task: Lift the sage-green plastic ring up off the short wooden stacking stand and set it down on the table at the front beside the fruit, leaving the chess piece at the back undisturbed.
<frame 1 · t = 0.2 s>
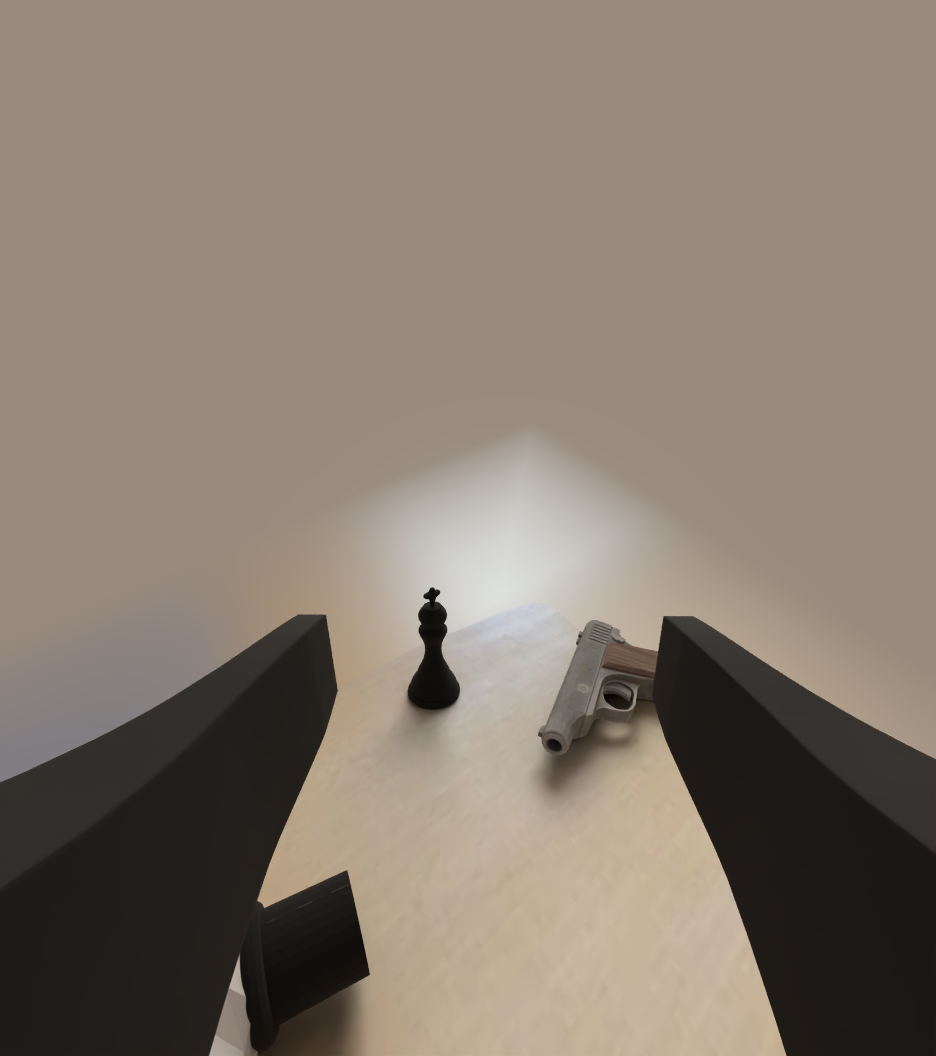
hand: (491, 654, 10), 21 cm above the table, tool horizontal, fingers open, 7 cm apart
handgun: (719, 732, 36), point 1 cm above the table
chess piece: (434, 693, 41), on the table
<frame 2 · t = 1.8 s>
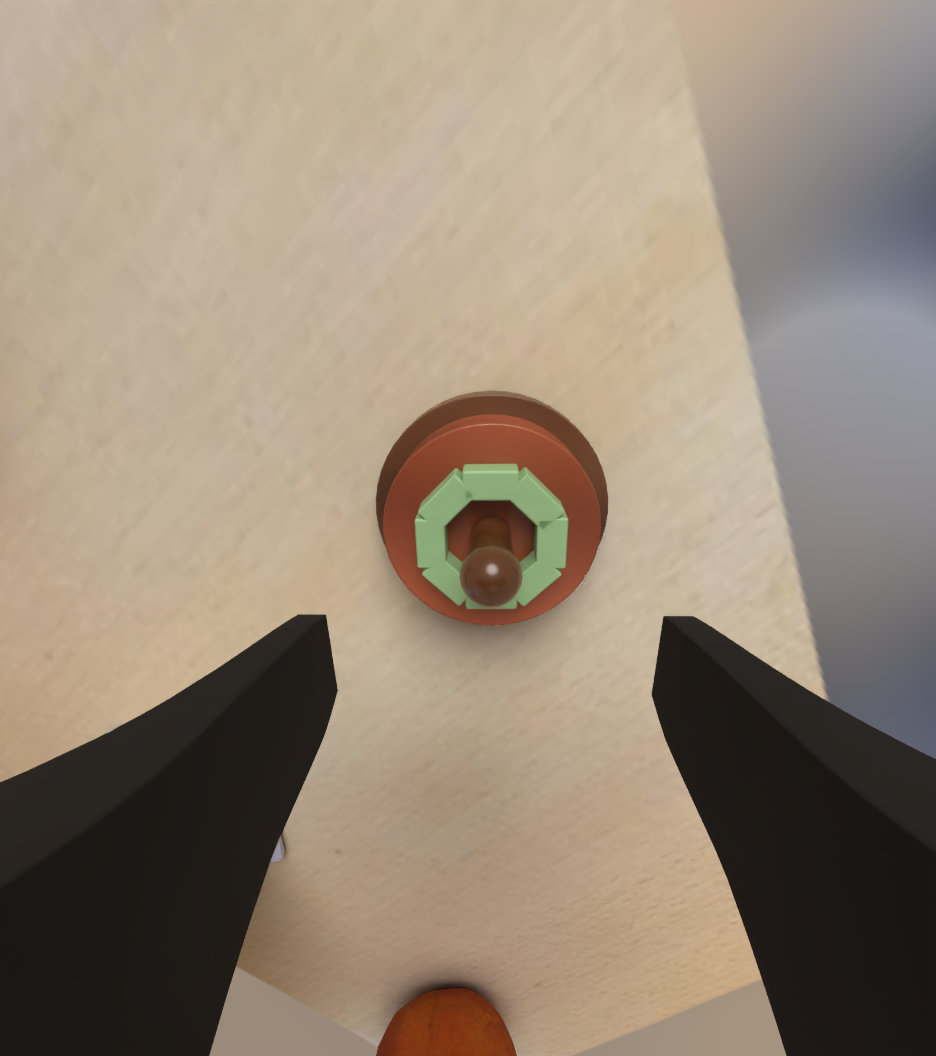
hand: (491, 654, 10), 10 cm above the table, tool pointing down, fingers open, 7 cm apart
stand: (490, 504, 19), on the table
ring: (490, 533, 17), point 3 cm above the table, touching stand
fruit: (449, 994, 33), on the table
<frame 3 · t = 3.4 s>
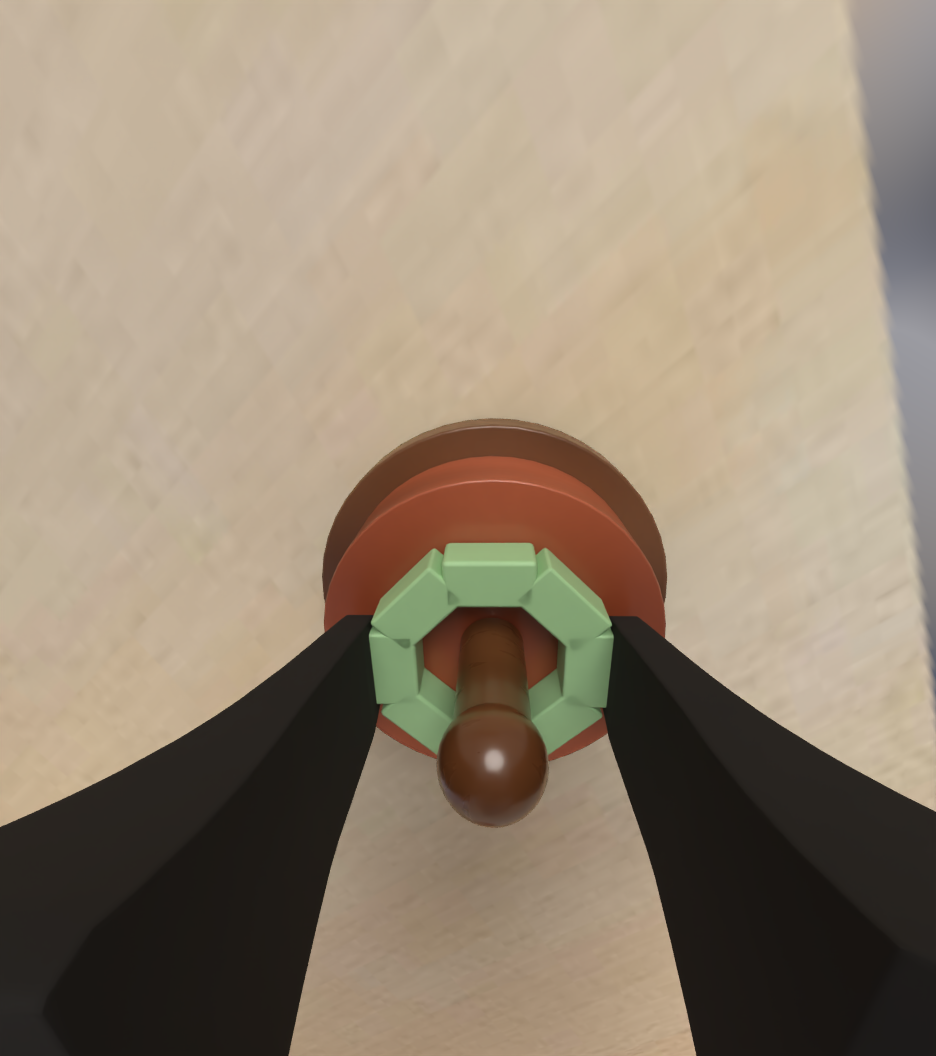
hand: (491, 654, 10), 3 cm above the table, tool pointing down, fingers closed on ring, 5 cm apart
stand: (491, 579, 13), on the table
ring: (490, 643, 11), point 3 cm above the table, touching gripper, stand
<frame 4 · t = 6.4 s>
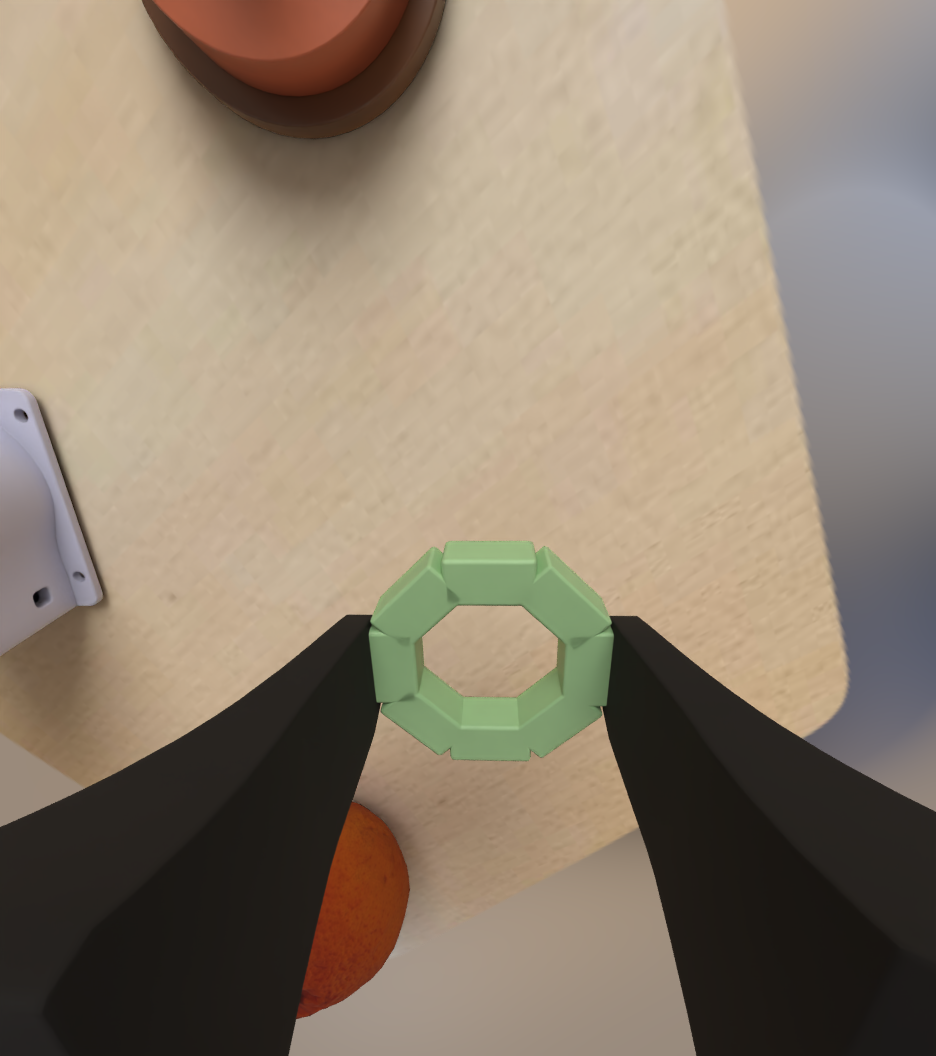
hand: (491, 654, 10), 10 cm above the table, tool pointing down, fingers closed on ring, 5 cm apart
ring: (489, 642, 11), point 10 cm above the table, touching gripper
fruit: (338, 820, 27), on the table
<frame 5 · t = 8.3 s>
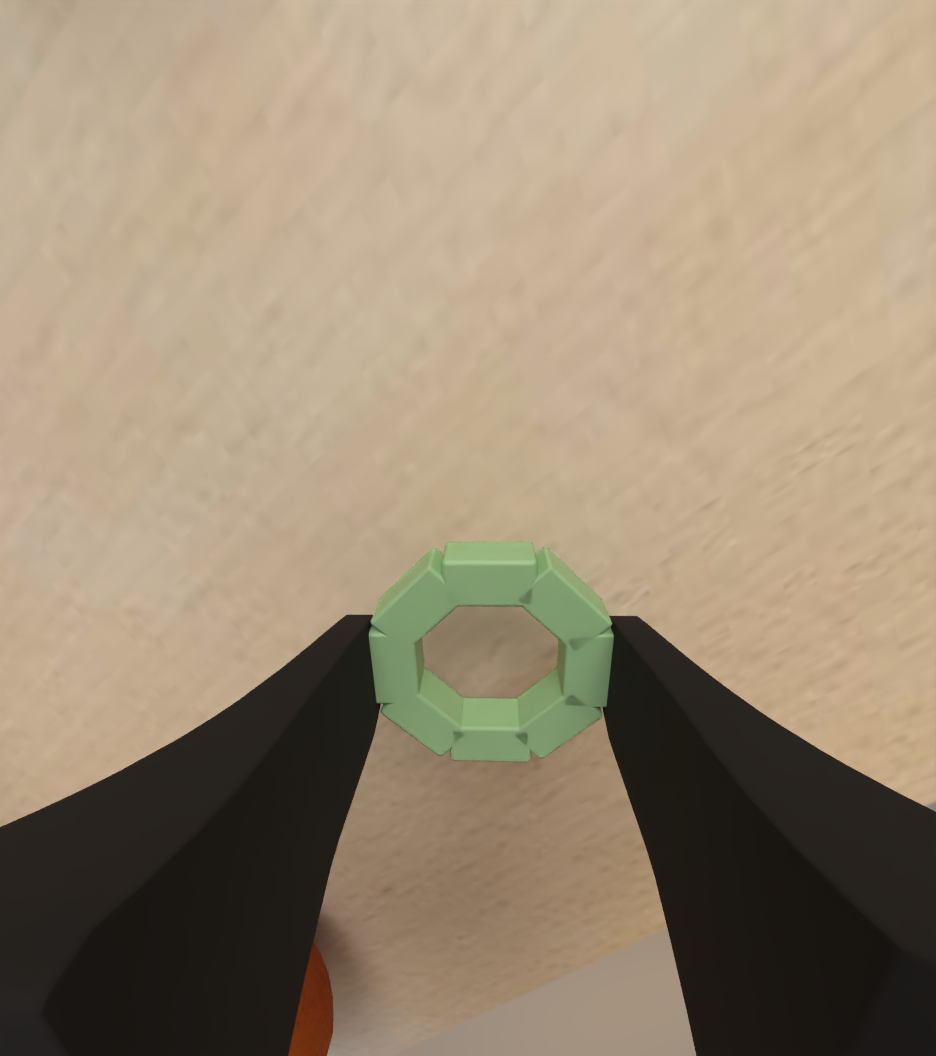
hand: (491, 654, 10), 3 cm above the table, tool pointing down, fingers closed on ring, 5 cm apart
ring: (490, 642, 11), point 3 cm above the table, touching gripper
fruit: (244, 911, 19), on the table
when the fingers open (0 cm above the table, at t = 9.7 s): ring stays where it is, on the table.
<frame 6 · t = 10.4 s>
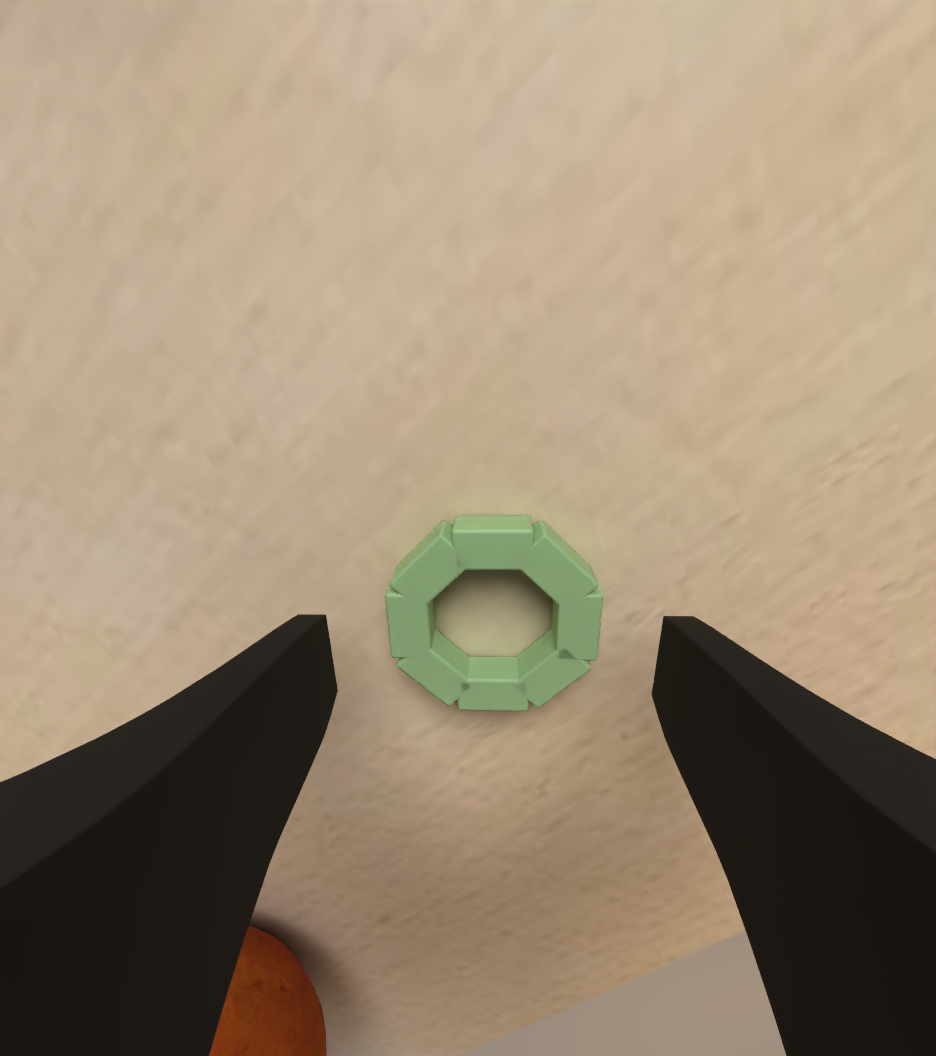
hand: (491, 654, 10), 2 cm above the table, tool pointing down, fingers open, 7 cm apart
ring: (492, 606, 12), on the table
fruit: (234, 939, 18), on the table
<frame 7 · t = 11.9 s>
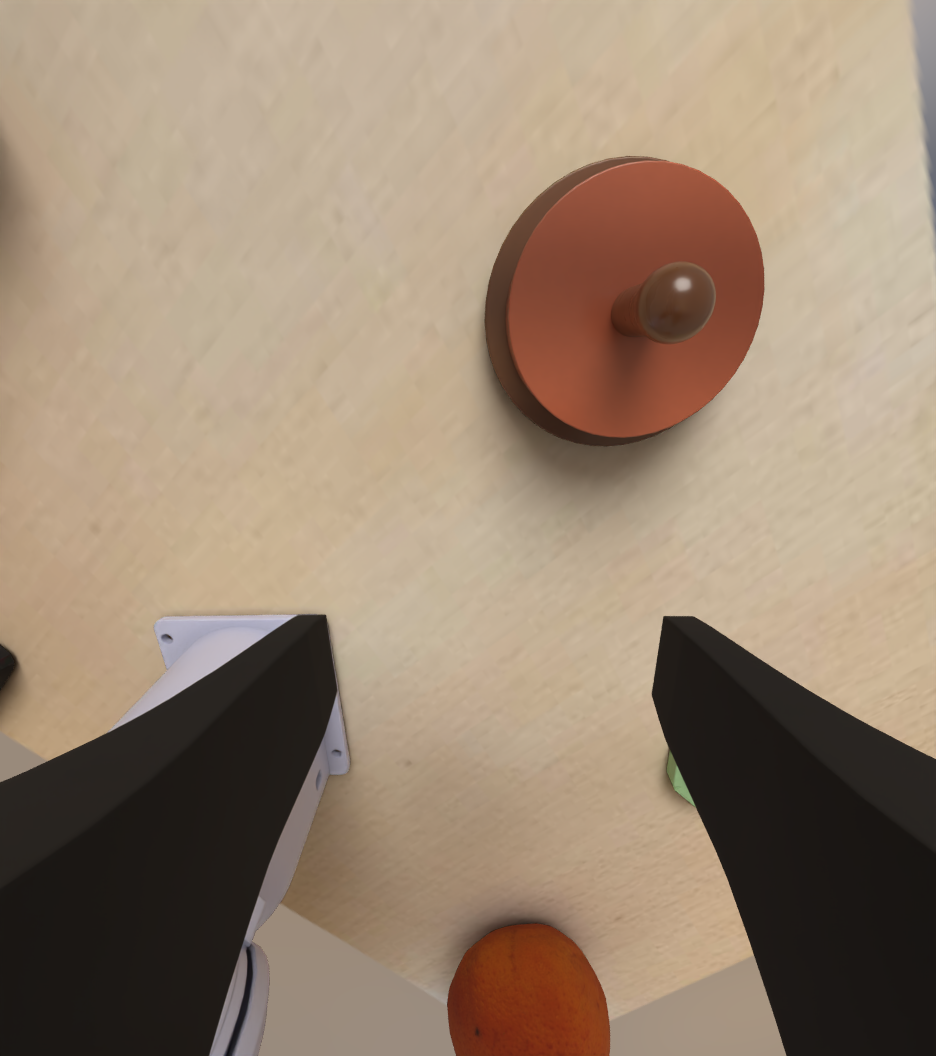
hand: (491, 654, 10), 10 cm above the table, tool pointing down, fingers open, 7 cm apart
stand: (609, 316, 17), on the table
ring: (717, 757, 25), on the table
fruit: (520, 933, 31), on the table
remote control: (0, 694, 24), on the table
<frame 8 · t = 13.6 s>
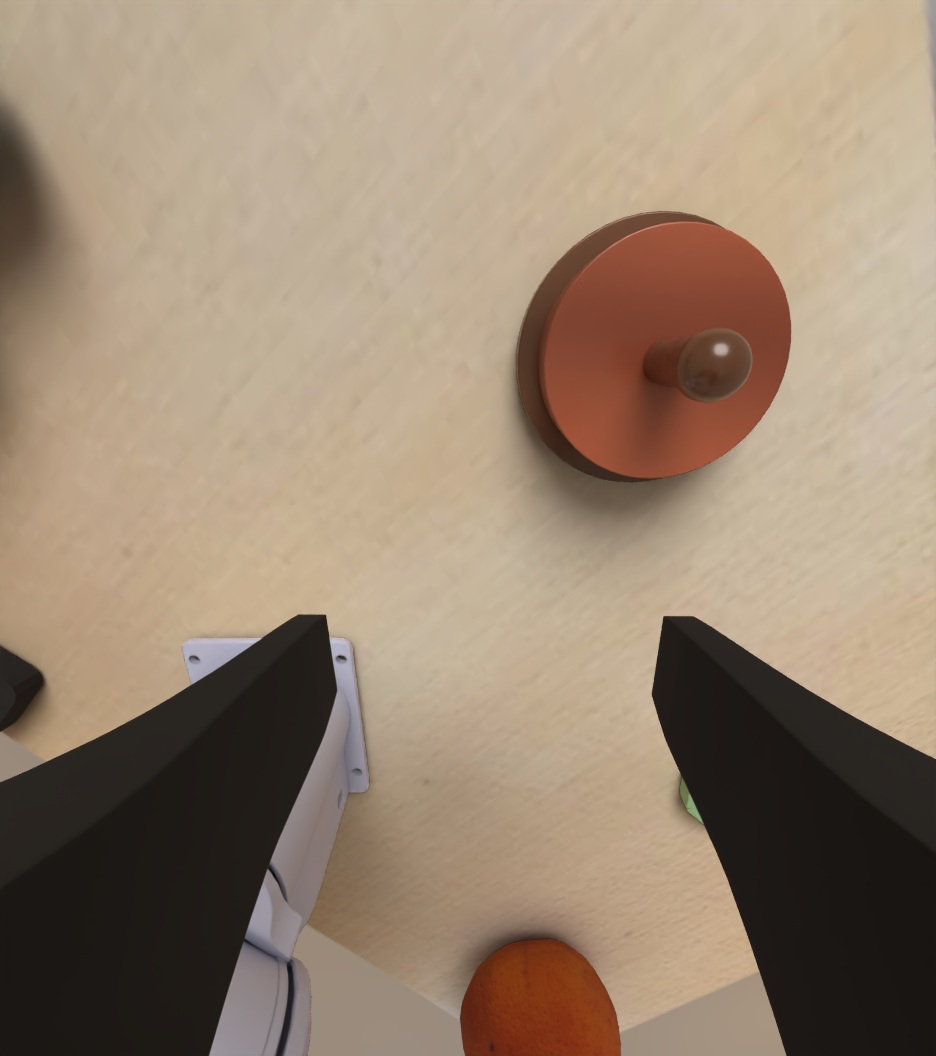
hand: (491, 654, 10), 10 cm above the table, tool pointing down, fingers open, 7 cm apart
stand: (636, 358, 18), on the table
ring: (729, 779, 25), on the table
fruit: (530, 948, 31), on the table
remote control: (26, 711, 24), on the table
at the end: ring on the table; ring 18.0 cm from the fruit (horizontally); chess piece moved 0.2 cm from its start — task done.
